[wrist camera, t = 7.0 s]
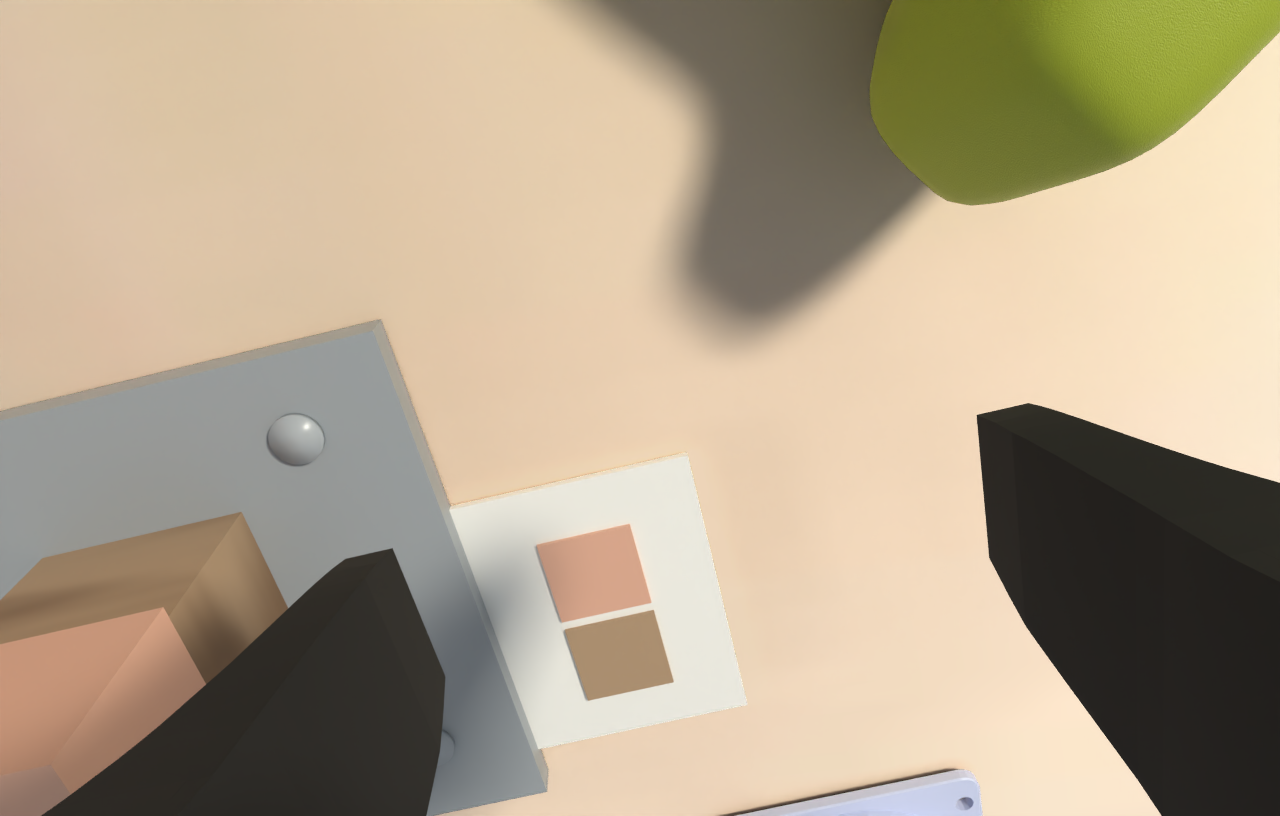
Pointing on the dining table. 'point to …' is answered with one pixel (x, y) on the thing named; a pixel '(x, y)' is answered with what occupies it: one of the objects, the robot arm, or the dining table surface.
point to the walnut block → (157, 589)
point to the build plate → (280, 507)
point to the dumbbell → (1049, 84)
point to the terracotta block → (84, 703)
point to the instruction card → (604, 600)
